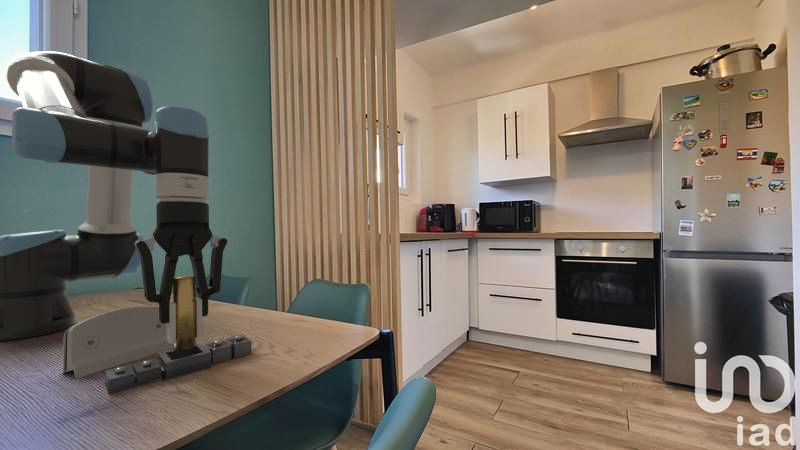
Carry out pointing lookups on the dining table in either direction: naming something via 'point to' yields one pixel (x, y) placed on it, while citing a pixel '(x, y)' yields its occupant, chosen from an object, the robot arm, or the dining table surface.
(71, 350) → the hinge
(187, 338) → the link pin
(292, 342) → the dining table surface
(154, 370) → the chain end
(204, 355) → the chain end
